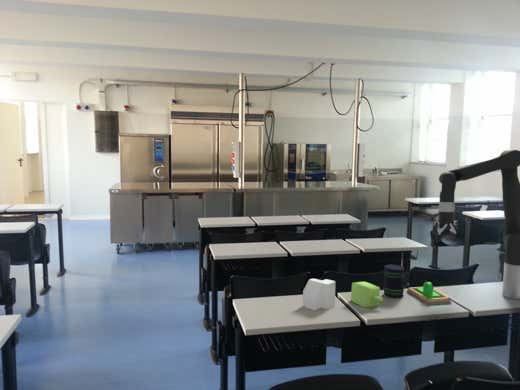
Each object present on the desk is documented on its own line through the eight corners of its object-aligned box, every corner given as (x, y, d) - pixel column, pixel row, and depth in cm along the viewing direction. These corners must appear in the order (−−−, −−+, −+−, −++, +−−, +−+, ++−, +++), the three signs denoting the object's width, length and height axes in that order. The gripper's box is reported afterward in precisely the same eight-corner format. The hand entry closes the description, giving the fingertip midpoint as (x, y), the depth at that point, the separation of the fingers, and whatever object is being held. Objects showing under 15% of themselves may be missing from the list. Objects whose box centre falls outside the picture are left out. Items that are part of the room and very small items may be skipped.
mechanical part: (440, 299, 207) (440, 283, 206) (428, 299, 206) (429, 284, 206) (427, 291, 219) (428, 276, 218) (416, 291, 218) (417, 276, 217)
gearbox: (388, 309, 198) (389, 289, 197) (372, 311, 193) (374, 291, 192) (361, 296, 214) (363, 278, 213) (346, 299, 209) (348, 280, 208)
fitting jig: (427, 290, 224) (427, 285, 224) (451, 303, 204) (451, 298, 204) (407, 291, 222) (407, 287, 221) (429, 305, 202) (429, 300, 202)
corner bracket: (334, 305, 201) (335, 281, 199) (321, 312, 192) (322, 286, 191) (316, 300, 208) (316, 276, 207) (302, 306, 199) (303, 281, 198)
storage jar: (382, 297, 213) (383, 268, 211) (383, 291, 222) (384, 263, 221) (403, 299, 210) (404, 270, 208) (403, 293, 219) (404, 265, 217)
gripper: (453, 209, 224) (452, 238, 225) (430, 210, 221) (429, 240, 222) (463, 210, 216) (462, 241, 218) (438, 211, 213) (437, 243, 215)
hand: (445, 240), depth 220 cm, fingers open, 8 cm apart
